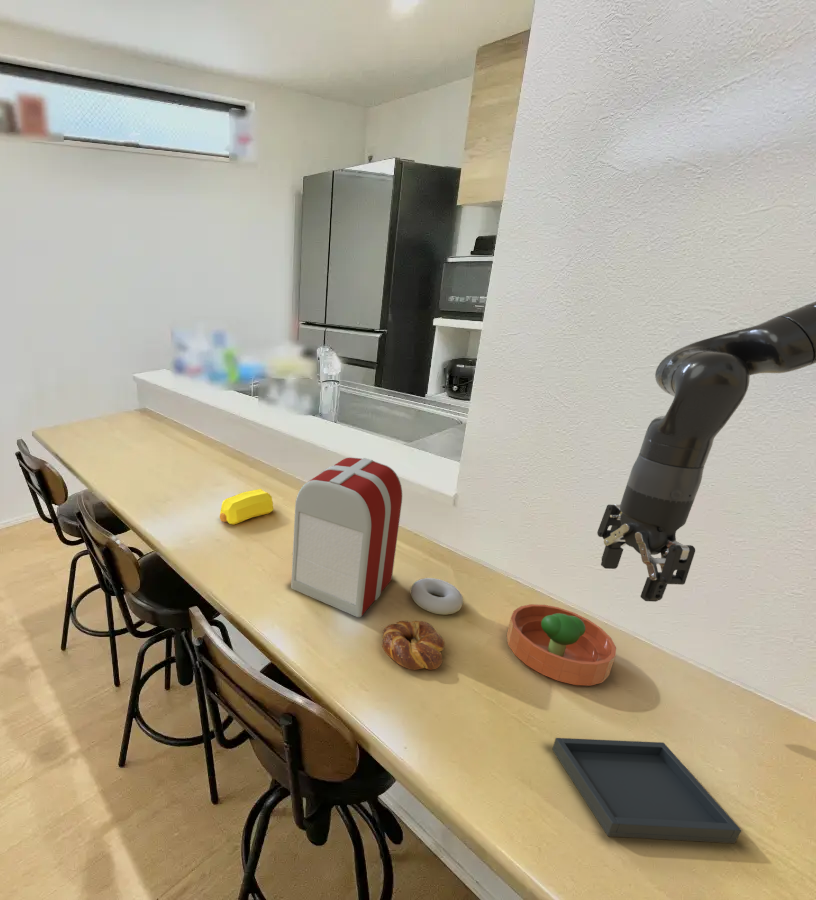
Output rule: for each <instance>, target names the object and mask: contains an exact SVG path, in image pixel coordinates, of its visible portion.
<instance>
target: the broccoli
mask: <svg viewBox="0 0 816 900" xmlns="http://www.w3.org/2000/svg"><path fill="white" fill-rule="evenodd" d="M541 627H542V629H543V631H544V632H545V633H546V634H547V635H548V637H549V638H550V643H549V646H548V651H549V652H550V653H553V654H556V655H558V656H563V655H564V653H565V649H566V646H567V645H570V644H573V643H575V642H576V641H577V640H578V639H579V637H580V636H582V635H583V634H584V633H585V625H584V623H583V621H582V620H581V619H579V618H578V617H575V616H568V615H566V614H561V613H557V614H553V615H548V616H545V617H544V618H543V619H542V621H541Z"/></svg>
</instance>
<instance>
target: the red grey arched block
mask: <svg viewBox="0 0 816 900" xmlns="http://www.w3.org/2000/svg"><path fill="white" fill-rule="evenodd" d="M402 503H403V488H402V483H401V480H400V477H399V476H398V475H397V473H396V471H395V470H394V469H393V468H392V467H390V466H388V465H386V464H384V463H381V462H378V461H375V460H373V459H372V458H371V459H370V458H366V457H363V458H361V457H352V456H351V457H346V458H343V459H341V460H340V461H338V462H337V463H335V464H334V465H331V466H328V467H327V468H325V469H323V470H322V471H321V472H320V473H318V475H316V476H315V477H313V478H311V479H309V480H308V481H306V482H305V483H304V484H303V485H302V486H301V488H300V489H299V491H298V493H297V496H296V499H295V505H294V521H293V522H294V523H293V524H294V525H293V541H292V544H293V545H292V562H291V580H290V581H291V585H290V589H292V590H293V591H296V592H298V593H300V594H303V595H305V596H307V597H310V598H312V599H314V600H317V601H319V602H322V603H324V604H326V605H328V606H331V607H333V608H335V609H337V610H340V611H342V612H345V613H346V614H349V615H351V616H354V617H356V618H361V617H363V615H364V614H365V613H366V612H367V611H368V609H370V607H371V606H372V605H373V603H375V601H377V600H378V598H379V597H380V596H381V594H382V592H383V591H385V589H386V587H387V586H388V585H389V584H390V582H391V581H392V580H393V572H394V567H395V558H396V550H397V542H398V535H399V528H400V527H399V526H400V520H401V512H402V506H403V505H402Z"/></svg>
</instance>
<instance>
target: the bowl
mask: <svg viewBox="0 0 816 900" xmlns="http://www.w3.org/2000/svg"><path fill="white" fill-rule="evenodd" d="M512 611H513V612H512V613H511V616H510V620H509V624H508V628H507V633H506V641H507V644H508V647H509V648H510V650H511V651H512V653H513V654H514V656H516V658H518V659H519V660H520V661H522V663H523V664H524V665H526V666H527V667H529V668H530V669H532V670H534V671H535V672H537V673H539V674H541V675H543V676H546V677H547V678H550V679H552V680H555V681H557V682H561V683H565V684H570V685H573V686H589V687H590V686H595V685H598V684H602V683H603V682H605V681H606V679H608V678H609V676H610V674H611V671H612V668H613V665H614V662H615V660H616V654H617V646H616V645H615V644H616V643H614V640H613V639H612V637H611V636H610V635H609V634H608V633H607V632H606V631H605V630H604V629H603V628H602V627H600V626H599V625H597V624H596V623H594V622H593V621H592V620H590V619H588V618H586V617H584V616H582V615H579V614H578V613H576V612H574V611H570V610H567V609H564V608H561V607H558V606H553V605H547V604H537V603H535V604H534V603H532V604H526V605H521V606H519V607H517V608H516V609H514V610H512ZM557 613H561V614H566V615H568V616H575V617H578V618H579V619H581V620H582V621H583V623H584V625H585V633H584V634H583V635H582V636H580V637H579V639H578V640H577V641H576V642H575V643H573V644H570V645H567V646H566V649H565V653H564V655H563V656H558V655H556V654H553V653H550V652H549V651H548V646H549V643H550V638H549V637H548V635H547V634H546V633H545V632H544V631H543V629H542V627H541V621H542V619H543V618H544V617H545V616H548V615H553V614H557Z"/></svg>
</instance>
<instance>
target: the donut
mask: <svg viewBox="0 0 816 900" xmlns="http://www.w3.org/2000/svg"><path fill="white" fill-rule="evenodd" d="M410 596H411V599H412V600H413V602H414V603H415V604H416V605H417V606H418V607H420V608H421V609H423V610H424V611H427V612H429V613H432V614H435V615H441V616H442V615H444V616H445V615H447V616H448V615H451V614H455V613H457V612H459V611H460V610H461V608H463V605H464V598H463V595H462V593H461V591H460V590H459V589H458V588H457V587H456V586H455V585H453V584H452V583H450V582H448V581H445V580H443V579H439V578H434V577H424V578H420V579H418V580H416V581H415V582H413V584H412V585H411V587H410Z"/></svg>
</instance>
